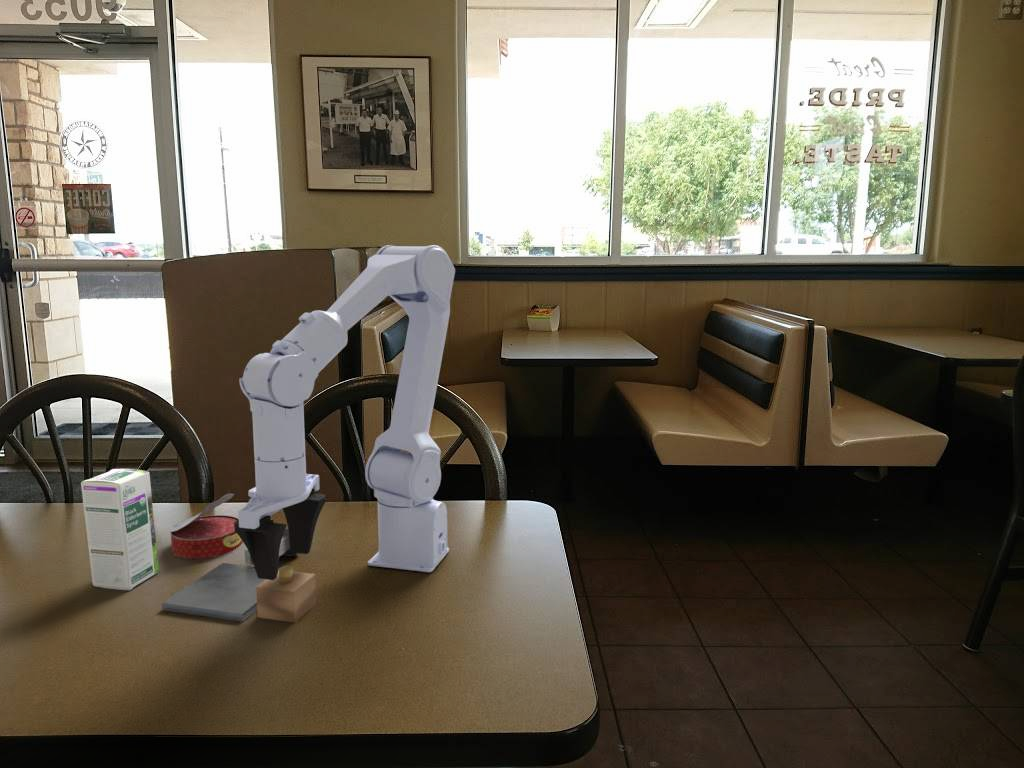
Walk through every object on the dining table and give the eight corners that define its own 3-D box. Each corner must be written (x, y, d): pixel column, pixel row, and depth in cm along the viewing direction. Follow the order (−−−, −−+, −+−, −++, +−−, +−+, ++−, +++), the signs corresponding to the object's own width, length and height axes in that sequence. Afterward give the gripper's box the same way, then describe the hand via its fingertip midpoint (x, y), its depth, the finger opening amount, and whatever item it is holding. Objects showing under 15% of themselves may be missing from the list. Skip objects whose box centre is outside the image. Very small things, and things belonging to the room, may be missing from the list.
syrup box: (130, 591, 94) (120, 482, 91) (90, 587, 95) (79, 479, 92) (159, 572, 99) (151, 469, 97) (121, 568, 100) (112, 466, 98)
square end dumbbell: (300, 553, 105) (298, 527, 105) (273, 573, 99) (272, 545, 98) (272, 550, 106) (271, 524, 106) (244, 570, 100) (242, 542, 99)
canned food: (199, 590, 105) (162, 542, 99) (179, 560, 112) (143, 513, 107) (268, 540, 109) (235, 492, 104) (244, 514, 117) (213, 468, 112)
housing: (316, 604, 91) (314, 562, 90) (295, 623, 86) (293, 579, 85) (280, 599, 92) (278, 558, 91) (257, 618, 88) (255, 575, 87)
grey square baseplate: (295, 578, 98) (295, 571, 98) (242, 621, 86) (242, 613, 86) (223, 569, 100) (222, 562, 100) (162, 610, 89) (161, 602, 89)
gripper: (282, 438, 94) (286, 539, 96) (211, 470, 80) (218, 586, 82) (333, 442, 92) (336, 544, 95) (269, 475, 78) (274, 594, 81)
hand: (284, 564), depth 88 cm, fingers open, 7 cm apart
